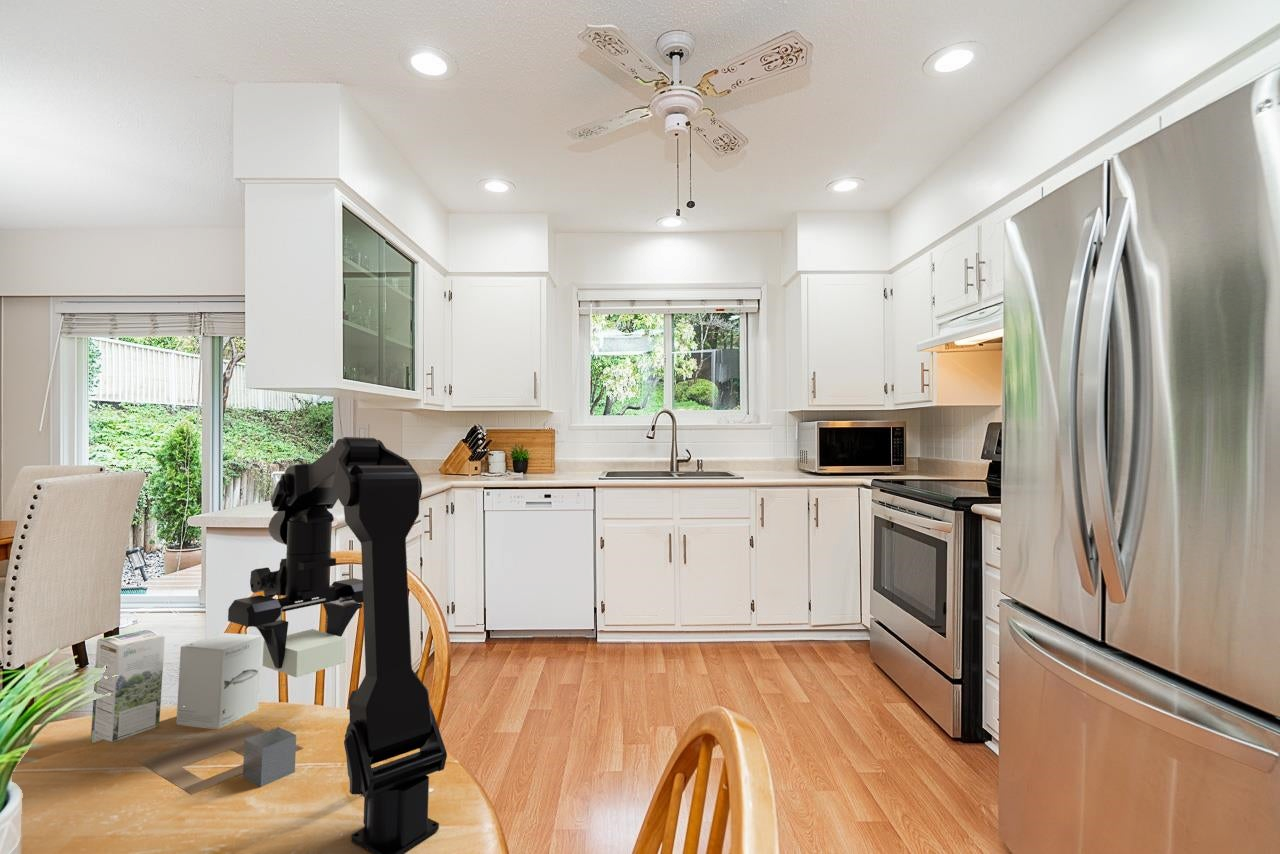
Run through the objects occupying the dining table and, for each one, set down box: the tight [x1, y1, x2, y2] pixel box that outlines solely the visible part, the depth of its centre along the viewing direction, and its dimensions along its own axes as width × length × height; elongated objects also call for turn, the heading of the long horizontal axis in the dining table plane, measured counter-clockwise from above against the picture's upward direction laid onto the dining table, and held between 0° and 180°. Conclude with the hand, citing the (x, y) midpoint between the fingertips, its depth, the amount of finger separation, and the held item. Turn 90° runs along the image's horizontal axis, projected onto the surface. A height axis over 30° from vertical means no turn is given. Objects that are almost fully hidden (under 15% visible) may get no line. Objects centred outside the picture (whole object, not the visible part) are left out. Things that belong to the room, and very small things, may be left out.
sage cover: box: [262, 628, 347, 678], centre depth 88 cm, size 8×7×4 cm
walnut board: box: [137, 722, 304, 795], centre depth 79 cm, size 14×13×2 cm
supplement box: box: [175, 632, 263, 730], centre depth 90 cm, size 7×7×13 cm
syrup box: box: [90, 629, 166, 744], centre depth 86 cm, size 6×6×14 cm
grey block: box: [242, 726, 297, 788], centre depth 74 cm, size 4×4×6 cm
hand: (304, 660), depth 88 cm, fingers closed on sage cover, 7 cm apart
